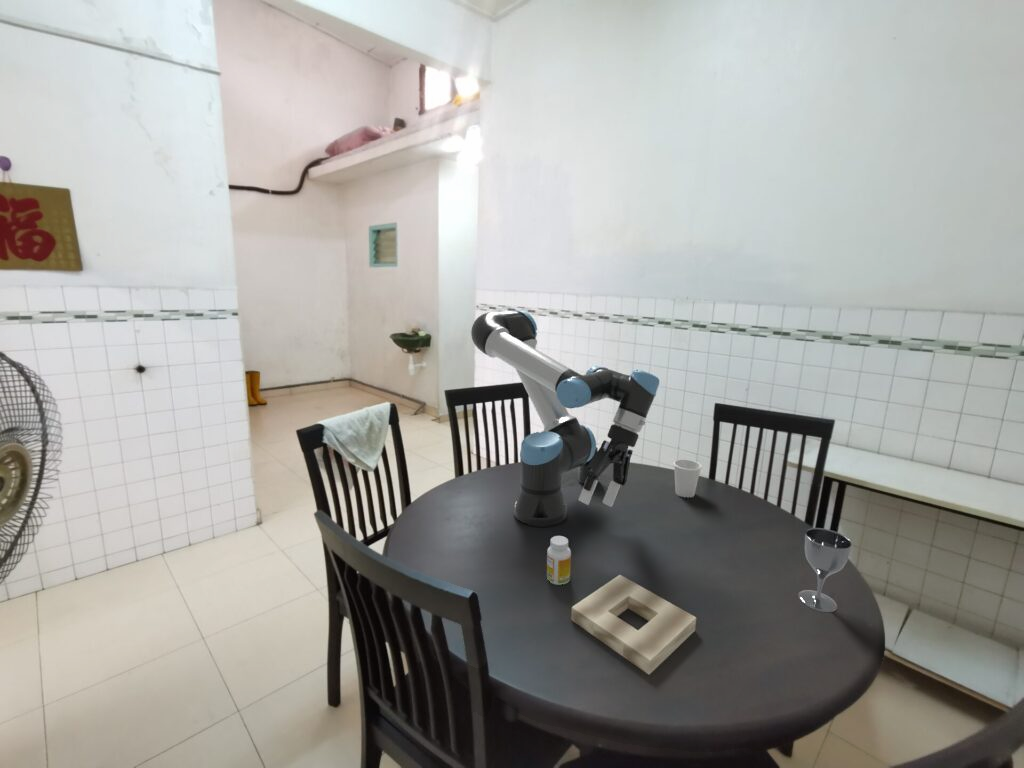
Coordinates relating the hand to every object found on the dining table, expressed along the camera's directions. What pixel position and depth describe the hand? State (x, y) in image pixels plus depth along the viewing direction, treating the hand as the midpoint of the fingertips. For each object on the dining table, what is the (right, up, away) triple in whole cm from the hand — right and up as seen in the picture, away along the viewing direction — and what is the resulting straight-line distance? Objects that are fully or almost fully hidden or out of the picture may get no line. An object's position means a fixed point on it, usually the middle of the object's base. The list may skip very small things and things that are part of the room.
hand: (595, 503), depth 124 cm
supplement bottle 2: (+4, -2, +36) cm, 36 cm away
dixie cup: (+33, -4, +27) cm, 43 cm away
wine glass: (+44, -15, -22) cm, 51 cm away
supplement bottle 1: (-11, -13, -15) cm, 23 cm away
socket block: (+2, -17, -30) cm, 34 cm away
